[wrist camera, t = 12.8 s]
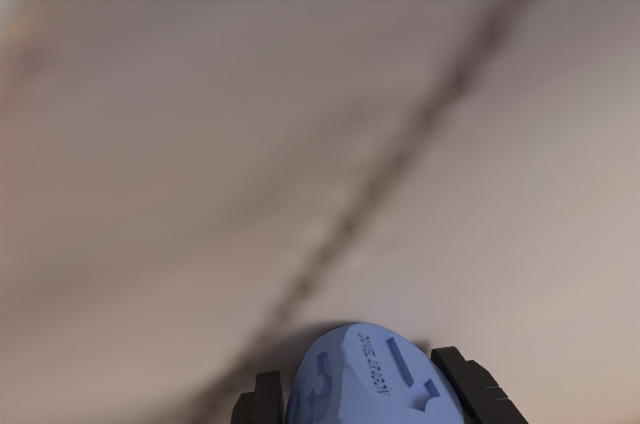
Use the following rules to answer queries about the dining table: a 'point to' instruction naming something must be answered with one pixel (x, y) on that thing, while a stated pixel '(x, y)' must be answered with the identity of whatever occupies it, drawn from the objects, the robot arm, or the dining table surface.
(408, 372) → the decorative dice
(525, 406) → the dining table surface
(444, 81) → the dining table surface
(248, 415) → the robot arm
